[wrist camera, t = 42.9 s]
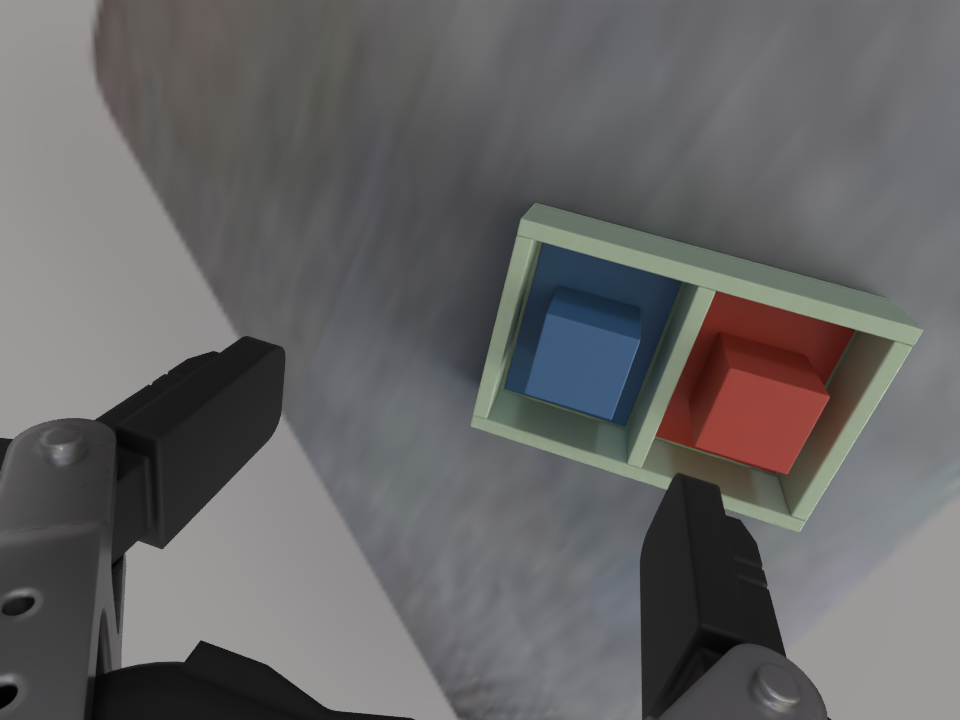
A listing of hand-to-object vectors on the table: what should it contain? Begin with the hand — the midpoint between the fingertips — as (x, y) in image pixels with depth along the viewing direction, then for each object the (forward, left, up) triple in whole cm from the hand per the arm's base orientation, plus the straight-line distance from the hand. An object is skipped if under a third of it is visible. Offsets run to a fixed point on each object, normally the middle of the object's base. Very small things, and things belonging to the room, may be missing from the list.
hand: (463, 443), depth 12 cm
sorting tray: (+7, -6, -21) cm, 23 cm away
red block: (+11, -6, -21) cm, 24 cm away
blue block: (+2, -6, -21) cm, 22 cm away
